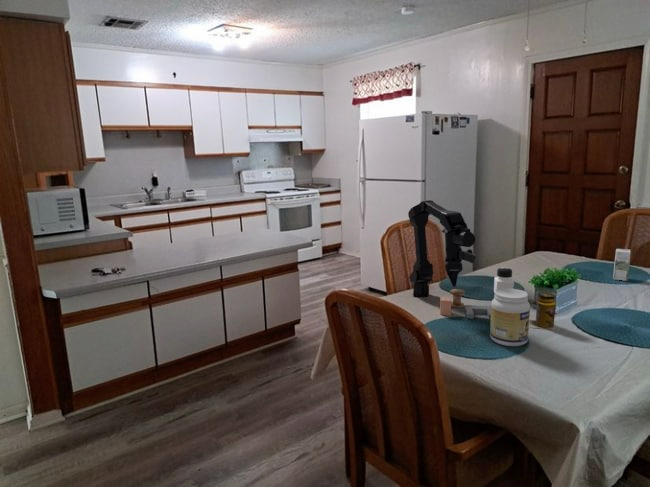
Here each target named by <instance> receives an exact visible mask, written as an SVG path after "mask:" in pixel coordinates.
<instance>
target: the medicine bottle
mask: <svg viewBox="0 0 650 487" xmlns="http://www.w3.org/2000/svg"><path fill="white" fill-rule="evenodd" d="M496 272H497V274H496V276H494V278H493V279H494V281H493V282H494V283H493V284H494V285H493V292H494V294H495V291H496V290H498V289H504V288H510V289H515V281H514V280H513V269H511V268H510V267H500V268H497V271H496Z"/></svg>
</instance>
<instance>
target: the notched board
mask: <svg viewBox="0 0 650 487" xmlns="http://www.w3.org/2000/svg"><path fill="white" fill-rule="evenodd" d="M464 310H465V315H466V319H467V318H469V319H468V320H474V318H475V317H474V314H478V315H480V314H482V315H486V316H487V319H488V320H489V321H491V305H480V304H479V305H476V304H475V305H473V304H464Z"/></svg>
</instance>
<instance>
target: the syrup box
mask: <svg viewBox="0 0 650 487" xmlns="http://www.w3.org/2000/svg"><path fill="white" fill-rule="evenodd" d="M614 256H615V257H614V265H613V266H614V268H613V275H612V276H613V279H612V280H613V281H619V280H622V281H621V282H628V278H629V268H630V262H631V260H630V259H631V249H628V248H625V249H624V248H616V249H615V255H614Z"/></svg>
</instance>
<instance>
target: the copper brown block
mask: <svg viewBox="0 0 650 487" xmlns="http://www.w3.org/2000/svg"><path fill="white" fill-rule="evenodd" d="M439 299H440V300H439V301H440V302H439V304H440V306H439V313H440V314H439V315H441V316H451V315H452V307H451V302H452V297H442V296H440V298H439Z"/></svg>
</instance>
